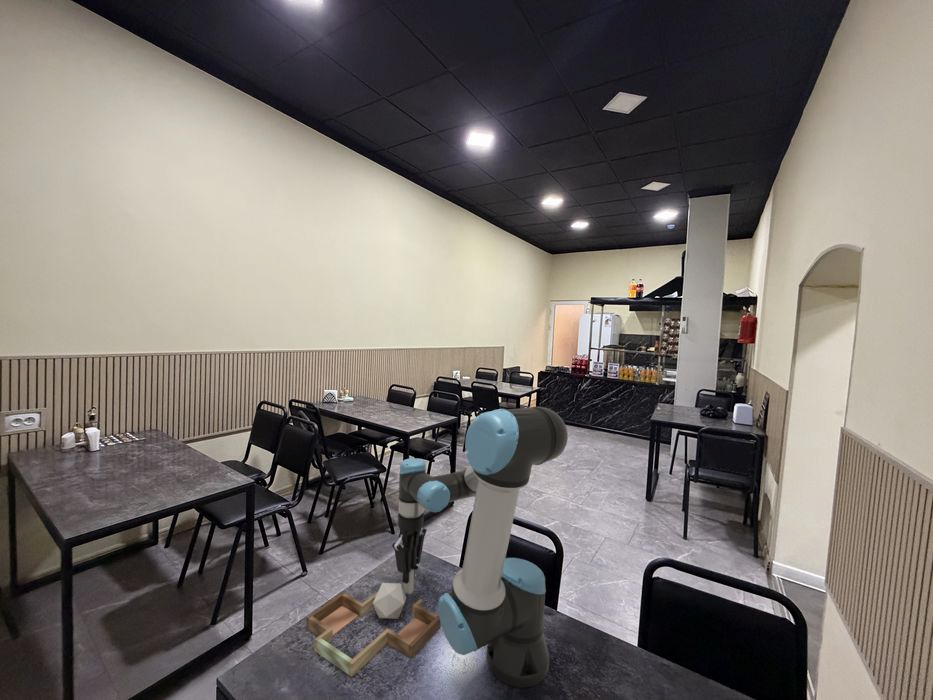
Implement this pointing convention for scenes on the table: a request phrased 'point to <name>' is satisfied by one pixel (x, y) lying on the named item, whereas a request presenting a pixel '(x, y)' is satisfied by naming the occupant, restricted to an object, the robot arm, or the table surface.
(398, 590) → the die
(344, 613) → the channel
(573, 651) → the table surface
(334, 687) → the table surface
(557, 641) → the table surface
